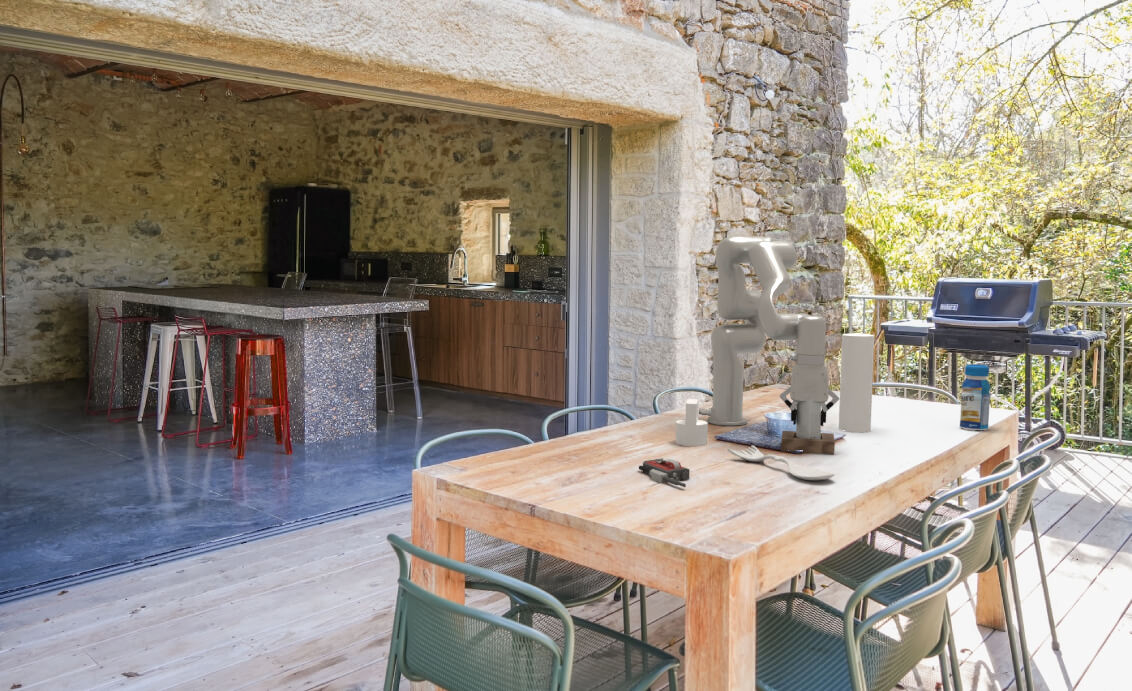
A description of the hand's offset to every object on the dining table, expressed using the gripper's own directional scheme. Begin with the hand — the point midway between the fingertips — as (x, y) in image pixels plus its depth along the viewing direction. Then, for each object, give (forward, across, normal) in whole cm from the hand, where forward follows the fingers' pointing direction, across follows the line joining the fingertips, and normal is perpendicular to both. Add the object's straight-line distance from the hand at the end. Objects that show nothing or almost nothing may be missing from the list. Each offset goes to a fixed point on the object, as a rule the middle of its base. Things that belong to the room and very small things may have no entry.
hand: (808, 424), depth 245 cm
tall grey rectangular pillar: (+7, +14, +33) cm, 37 cm away
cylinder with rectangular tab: (+7, -32, -2) cm, 33 cm away
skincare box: (+4, 0, 0) cm, 4 cm away
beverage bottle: (+7, +50, +46) cm, 68 cm away
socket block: (+7, 0, 0) cm, 7 cm away
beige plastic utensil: (+7, -6, -28) cm, 30 cm away
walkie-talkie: (+8, -32, -45) cm, 56 cm away
